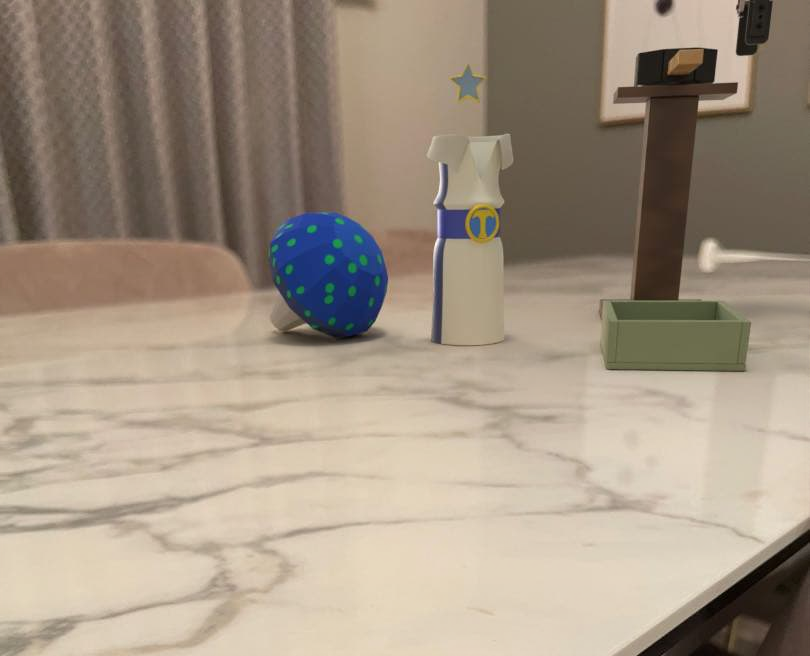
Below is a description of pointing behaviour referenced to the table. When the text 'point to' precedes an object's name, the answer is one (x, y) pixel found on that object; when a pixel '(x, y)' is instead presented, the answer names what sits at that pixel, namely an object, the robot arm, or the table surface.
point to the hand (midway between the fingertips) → (750, 49)
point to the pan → (675, 66)
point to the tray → (674, 335)
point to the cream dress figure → (469, 232)
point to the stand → (664, 183)
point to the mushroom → (326, 275)
